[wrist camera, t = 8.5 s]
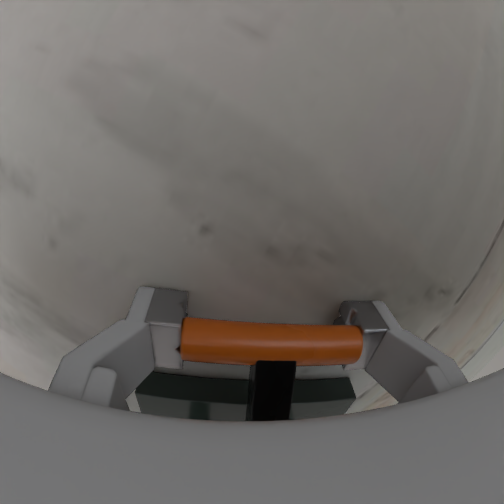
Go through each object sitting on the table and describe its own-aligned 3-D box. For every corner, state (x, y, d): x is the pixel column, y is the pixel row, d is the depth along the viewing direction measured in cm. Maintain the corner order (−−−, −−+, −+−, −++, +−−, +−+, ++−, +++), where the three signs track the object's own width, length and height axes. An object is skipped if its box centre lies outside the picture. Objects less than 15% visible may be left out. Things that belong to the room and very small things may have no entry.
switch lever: (187, 312, 8) (179, 322, 6) (339, 320, 9) (377, 330, 7) (189, 555, 7) (190, 587, 4) (290, 553, 7) (302, 581, 5)
